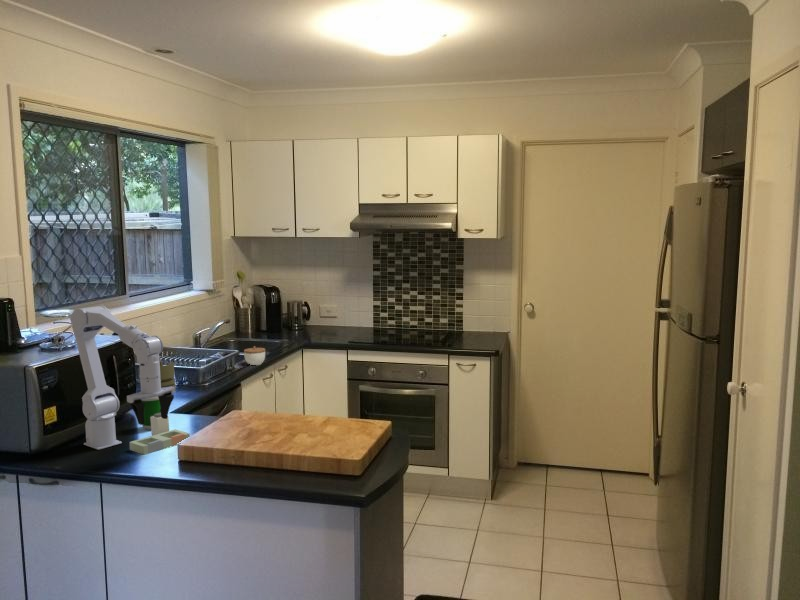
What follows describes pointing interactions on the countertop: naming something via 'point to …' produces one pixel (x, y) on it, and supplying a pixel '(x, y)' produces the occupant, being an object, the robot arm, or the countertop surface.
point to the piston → (167, 375)
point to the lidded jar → (254, 355)
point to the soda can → (150, 410)
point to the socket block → (158, 441)
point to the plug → (159, 424)
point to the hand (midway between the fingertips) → (152, 421)
